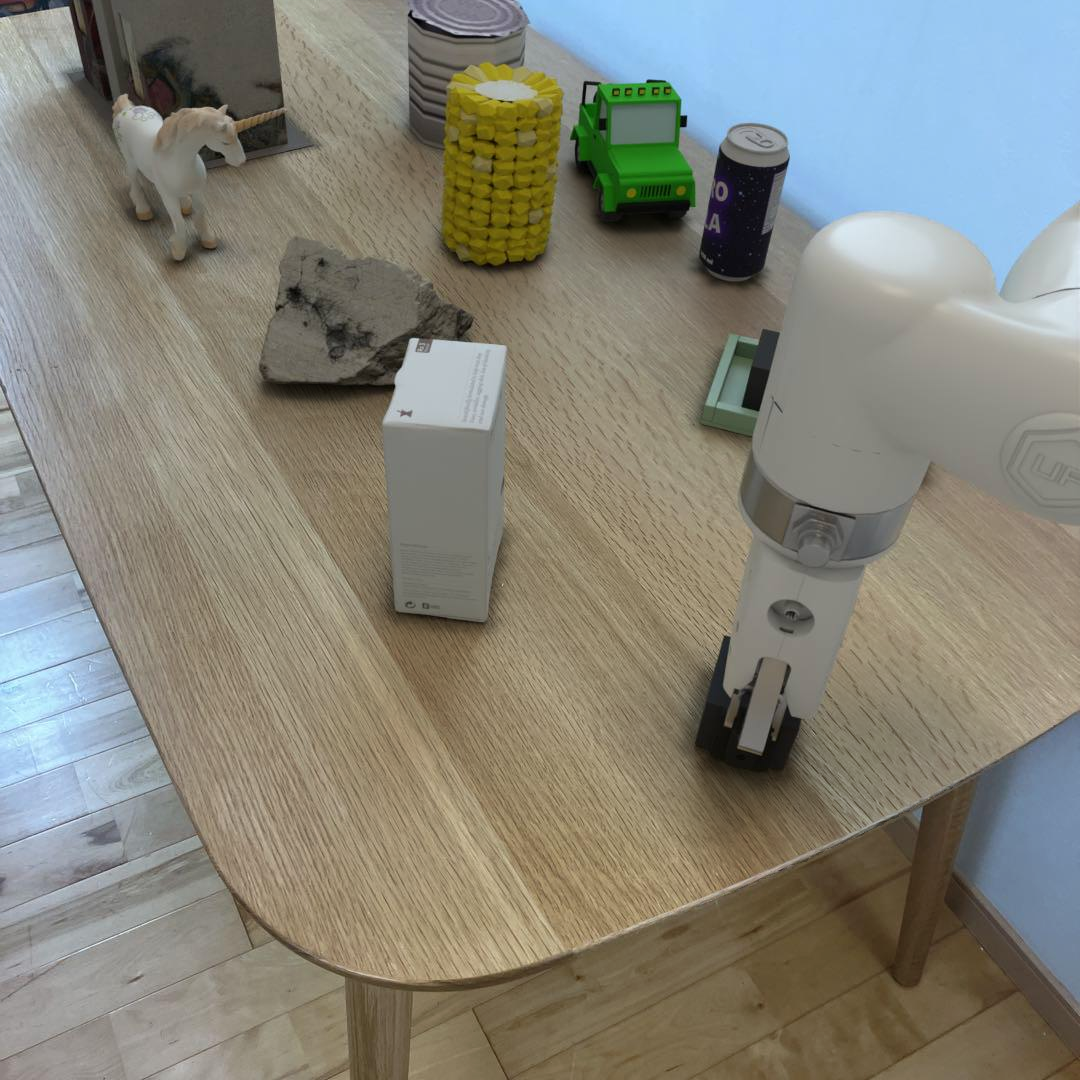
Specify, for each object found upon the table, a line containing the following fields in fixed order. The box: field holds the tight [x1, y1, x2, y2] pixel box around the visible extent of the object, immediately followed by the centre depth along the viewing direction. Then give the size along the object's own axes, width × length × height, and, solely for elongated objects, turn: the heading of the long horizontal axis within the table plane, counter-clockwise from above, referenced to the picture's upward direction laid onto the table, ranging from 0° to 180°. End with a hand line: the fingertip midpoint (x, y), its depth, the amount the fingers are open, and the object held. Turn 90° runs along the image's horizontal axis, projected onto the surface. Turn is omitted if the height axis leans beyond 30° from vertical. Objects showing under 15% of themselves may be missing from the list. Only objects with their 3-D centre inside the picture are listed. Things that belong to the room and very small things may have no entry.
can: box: [406, 0, 531, 151], centre depth 108 cm, size 11×11×12 cm
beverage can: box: [698, 122, 791, 283], centre depth 93 cm, size 6×6×12 cm
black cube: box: [694, 634, 802, 771], centre depth 62 cm, size 5×5×4 cm
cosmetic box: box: [381, 338, 508, 623], centre depth 65 cm, size 8×6×15 cm
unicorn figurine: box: [112, 94, 288, 261], centre depth 90 cm, size 7×20×13 cm, turn 54°
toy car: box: [569, 78, 696, 222], centre depth 102 cm, size 8×17×10 cm, turn 12°
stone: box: [258, 235, 475, 386], centre depth 82 cm, size 12×17×10 cm
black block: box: [741, 328, 780, 411], centre depth 83 cm, size 5×5×4 cm
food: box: [440, 62, 565, 267], centre depth 93 cm, size 15×12×10 cm
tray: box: [700, 333, 760, 438], centre depth 83 cm, size 16×10×2 cm, turn 72°
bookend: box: [66, 0, 314, 170], centre depth 106 cm, size 16×25×16 cm, turn 33°
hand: (747, 718), depth 63 cm, fingers closed on black cube, 5 cm apart
